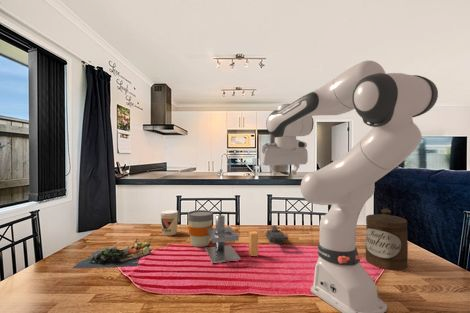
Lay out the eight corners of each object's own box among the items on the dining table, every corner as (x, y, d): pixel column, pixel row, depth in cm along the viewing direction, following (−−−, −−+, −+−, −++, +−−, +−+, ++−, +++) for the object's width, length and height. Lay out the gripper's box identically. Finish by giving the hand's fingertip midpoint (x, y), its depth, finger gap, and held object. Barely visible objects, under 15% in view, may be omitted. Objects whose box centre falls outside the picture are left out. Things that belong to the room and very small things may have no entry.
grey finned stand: (240, 260, 106) (240, 222, 106) (212, 264, 103) (212, 224, 103) (230, 247, 122) (230, 213, 121) (205, 249, 118) (205, 214, 118)
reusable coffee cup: (182, 246, 122) (183, 215, 122) (193, 238, 134) (193, 209, 134) (208, 249, 119) (208, 216, 119) (216, 240, 131) (216, 210, 131)
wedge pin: (257, 256, 111) (258, 233, 111) (251, 257, 110) (251, 233, 110) (255, 253, 114) (255, 231, 114) (249, 254, 113) (249, 231, 113)
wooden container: (359, 261, 107) (359, 208, 106) (374, 252, 116) (374, 203, 116) (399, 274, 95) (400, 215, 95) (412, 263, 105) (413, 209, 105)
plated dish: (168, 244, 127) (167, 229, 127) (156, 271, 99) (156, 252, 99) (93, 247, 123) (93, 232, 123) (59, 276, 96) (59, 257, 95)
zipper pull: (269, 237, 117) (265, 222, 142) (269, 251, 117) (265, 234, 142) (289, 237, 116) (282, 222, 141) (289, 252, 116) (282, 234, 141)
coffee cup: (157, 235, 139) (157, 212, 139) (166, 230, 148) (166, 209, 148) (172, 236, 136) (172, 214, 136) (181, 231, 145) (181, 210, 145)
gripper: (265, 143, 104) (264, 177, 106) (310, 143, 109) (308, 175, 111) (259, 142, 110) (258, 174, 112) (302, 142, 115) (301, 172, 117)
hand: (284, 175), depth 112 cm, fingers open, 8 cm apart
